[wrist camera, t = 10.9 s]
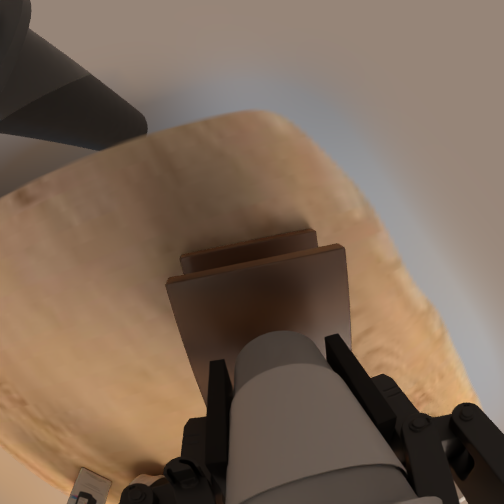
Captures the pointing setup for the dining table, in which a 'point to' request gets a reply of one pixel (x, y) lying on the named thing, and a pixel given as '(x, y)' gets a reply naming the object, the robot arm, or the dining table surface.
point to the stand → (258, 297)
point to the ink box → (89, 489)
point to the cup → (304, 433)
